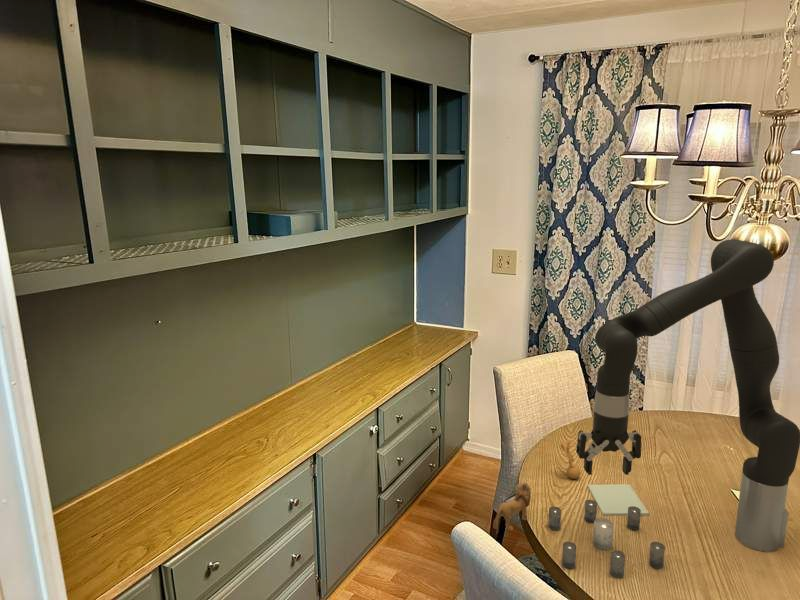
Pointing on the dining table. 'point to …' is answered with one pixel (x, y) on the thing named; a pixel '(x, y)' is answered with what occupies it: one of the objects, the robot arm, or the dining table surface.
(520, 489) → the lion figurine
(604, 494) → the sage mat
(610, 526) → the clear rounded cylinder
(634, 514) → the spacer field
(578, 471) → the figurine
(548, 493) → the dining table surface
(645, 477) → the dining table surface
